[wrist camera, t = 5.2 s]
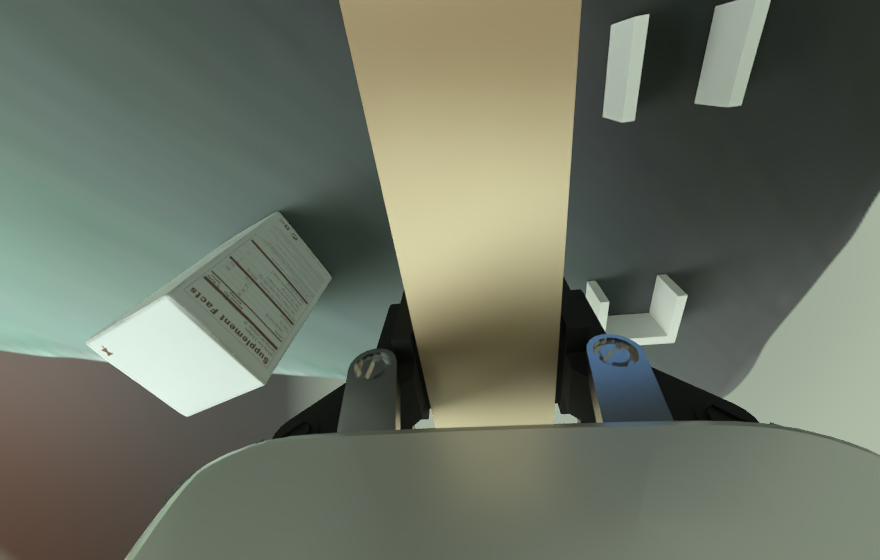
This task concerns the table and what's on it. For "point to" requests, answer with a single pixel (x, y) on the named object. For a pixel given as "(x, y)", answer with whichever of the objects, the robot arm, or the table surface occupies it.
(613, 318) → the end cap
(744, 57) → the end cap
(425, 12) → the slat
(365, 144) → the table surface
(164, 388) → the supplement box
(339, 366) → the table surface
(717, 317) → the table surface
